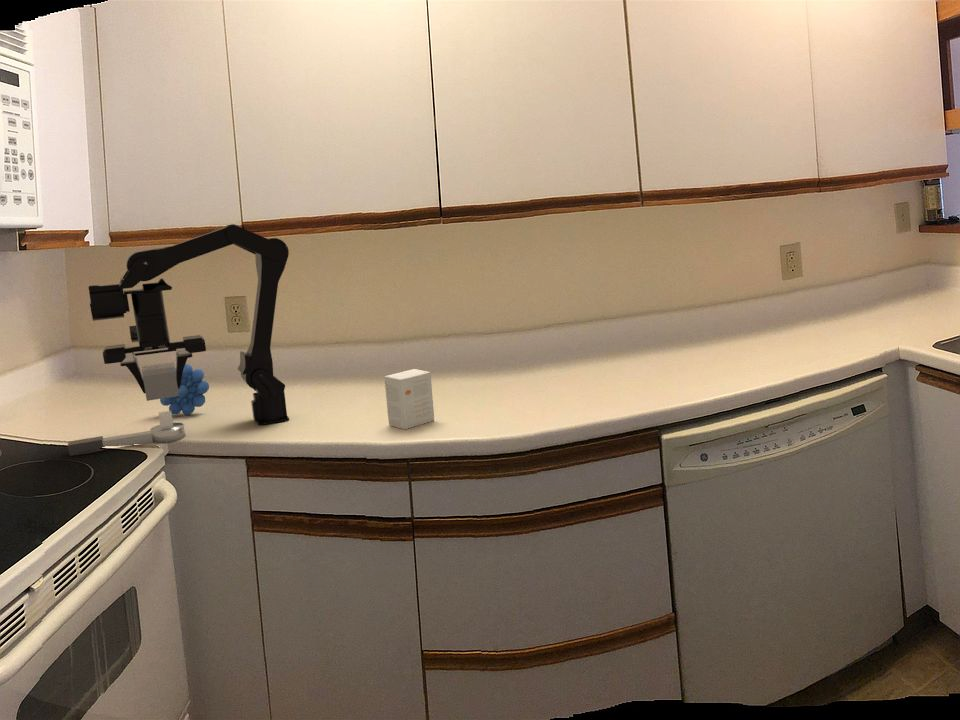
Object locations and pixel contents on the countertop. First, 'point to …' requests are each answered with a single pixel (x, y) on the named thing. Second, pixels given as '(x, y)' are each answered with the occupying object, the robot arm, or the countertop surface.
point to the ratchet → (134, 436)
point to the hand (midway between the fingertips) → (161, 390)
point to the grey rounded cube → (160, 381)
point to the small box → (409, 398)
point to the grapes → (188, 392)
